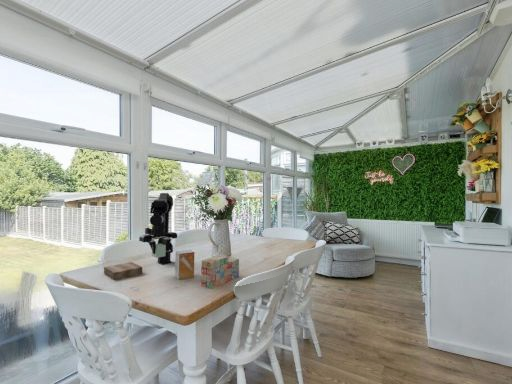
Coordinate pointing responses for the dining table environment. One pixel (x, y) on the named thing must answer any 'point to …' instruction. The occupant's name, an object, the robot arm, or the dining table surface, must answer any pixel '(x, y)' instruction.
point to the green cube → (159, 250)
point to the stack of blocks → (218, 270)
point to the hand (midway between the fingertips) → (158, 253)
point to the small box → (184, 264)
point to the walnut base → (122, 270)
